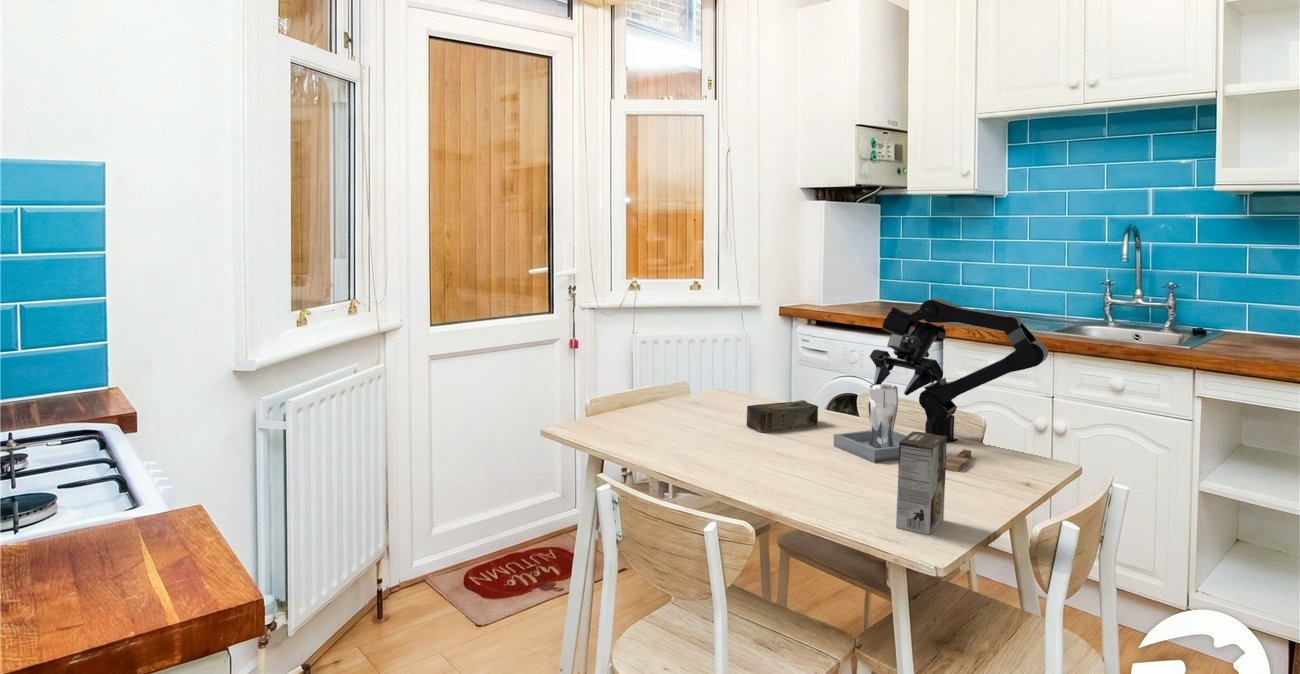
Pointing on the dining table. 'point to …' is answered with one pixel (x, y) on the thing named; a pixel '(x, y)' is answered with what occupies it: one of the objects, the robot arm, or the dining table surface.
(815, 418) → the beverage carton
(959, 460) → the scraper paddle
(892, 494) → the dining table surface
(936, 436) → the coffee box
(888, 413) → the silver metal cup
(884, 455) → the tray
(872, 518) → the dining table surface
